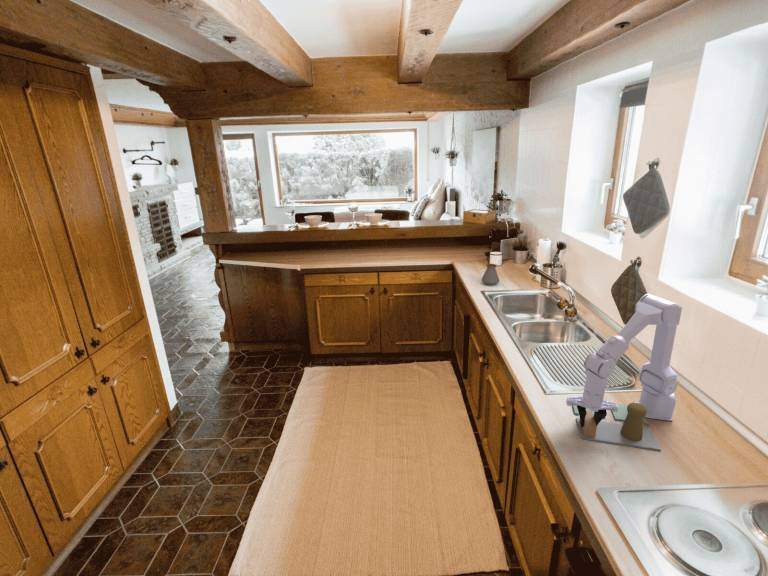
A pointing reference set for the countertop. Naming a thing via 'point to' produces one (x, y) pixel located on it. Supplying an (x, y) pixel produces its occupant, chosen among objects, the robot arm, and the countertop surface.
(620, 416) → the pair of green tiles
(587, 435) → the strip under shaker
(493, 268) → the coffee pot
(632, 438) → the olive rounded upright post
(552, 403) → the countertop surface
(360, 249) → the countertop surface
